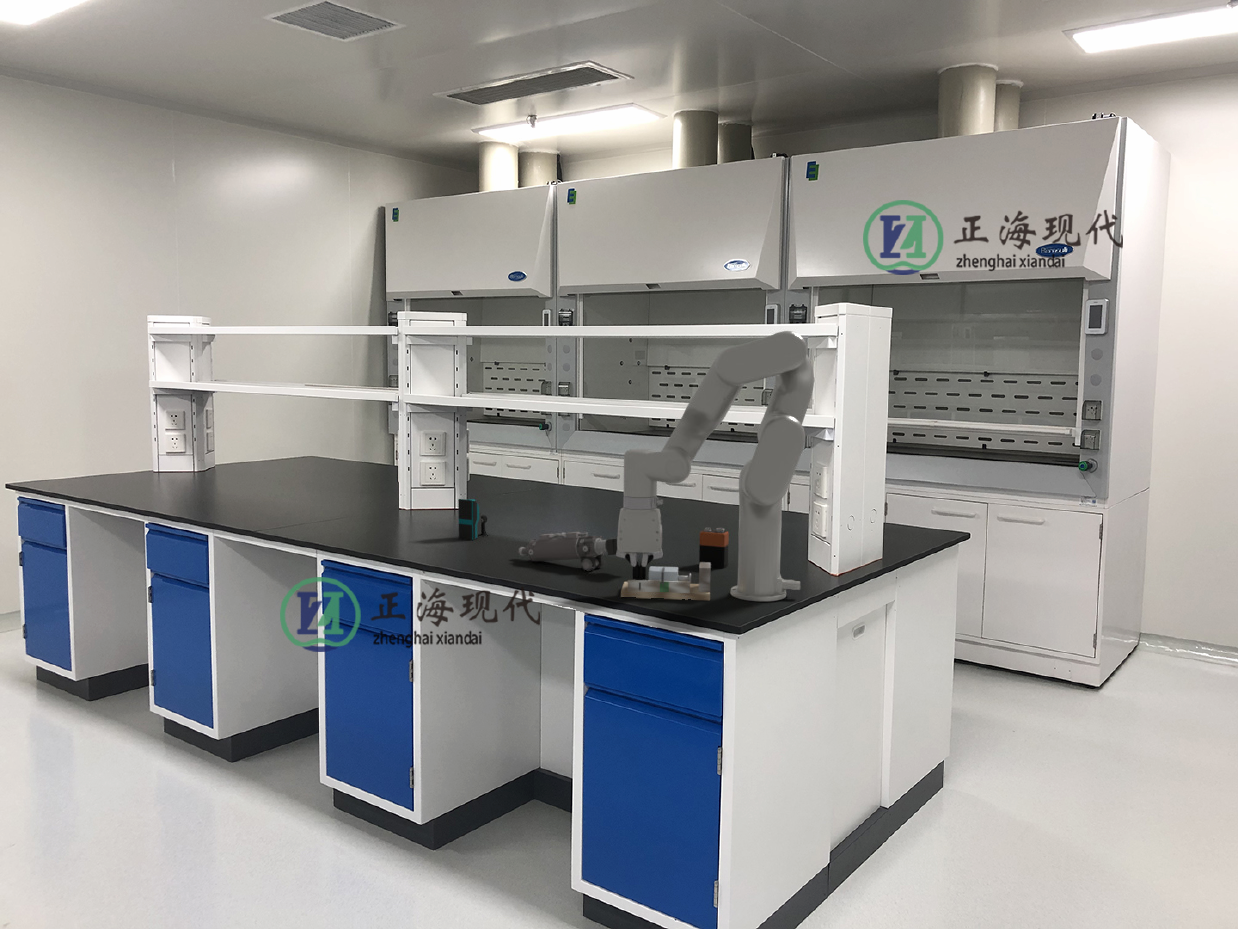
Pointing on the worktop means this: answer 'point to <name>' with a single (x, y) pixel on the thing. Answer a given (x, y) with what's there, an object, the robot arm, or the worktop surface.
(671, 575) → the force gauge
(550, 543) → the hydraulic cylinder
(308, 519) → the worktop surface
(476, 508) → the black teal case
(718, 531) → the battery
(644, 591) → the gauge stand
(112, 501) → the worktop surface
